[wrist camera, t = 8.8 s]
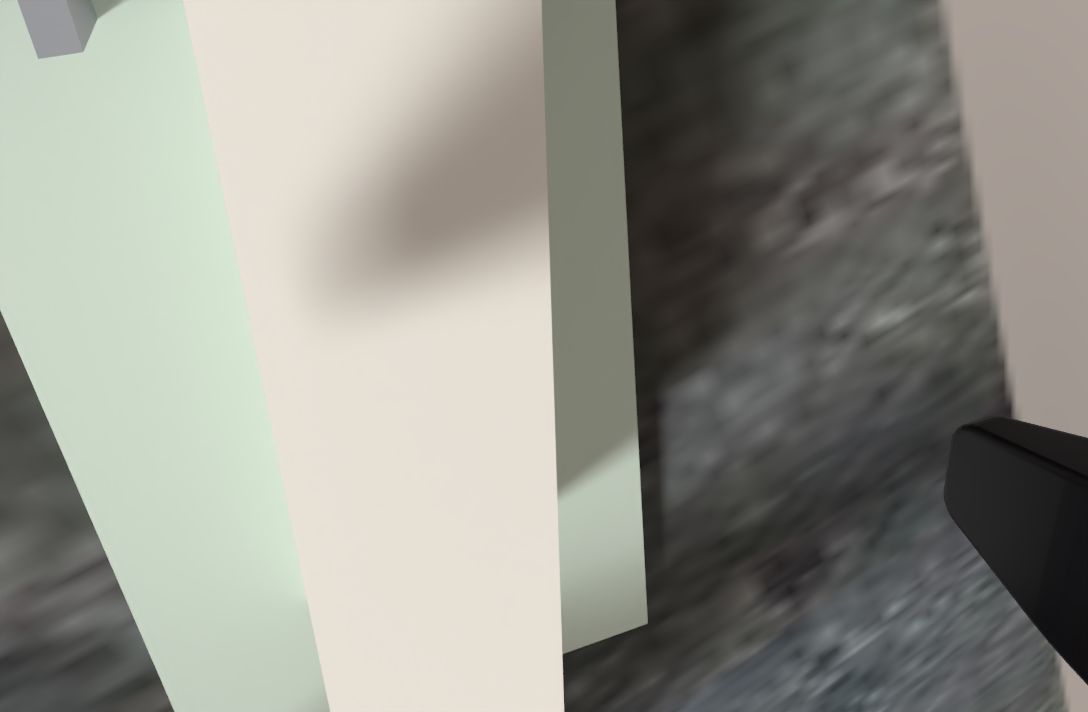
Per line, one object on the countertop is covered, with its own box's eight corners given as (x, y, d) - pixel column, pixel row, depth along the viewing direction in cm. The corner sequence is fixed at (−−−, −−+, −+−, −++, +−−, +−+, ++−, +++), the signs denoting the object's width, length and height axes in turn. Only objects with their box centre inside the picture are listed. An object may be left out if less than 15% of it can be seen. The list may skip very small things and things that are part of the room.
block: (467, 558, 20) (565, 779, 15) (308, 600, 19) (359, 852, 14) (384, -330, 13) (526, -459, 8) (114, -337, 12) (82, -489, 7)
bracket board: (631, 598, 24) (705, 712, 21) (203, 747, 21) (211, 907, 18) (549, -701, 12) (689, -910, 9) (-433, -755, 10) (-744, -1084, 6)
